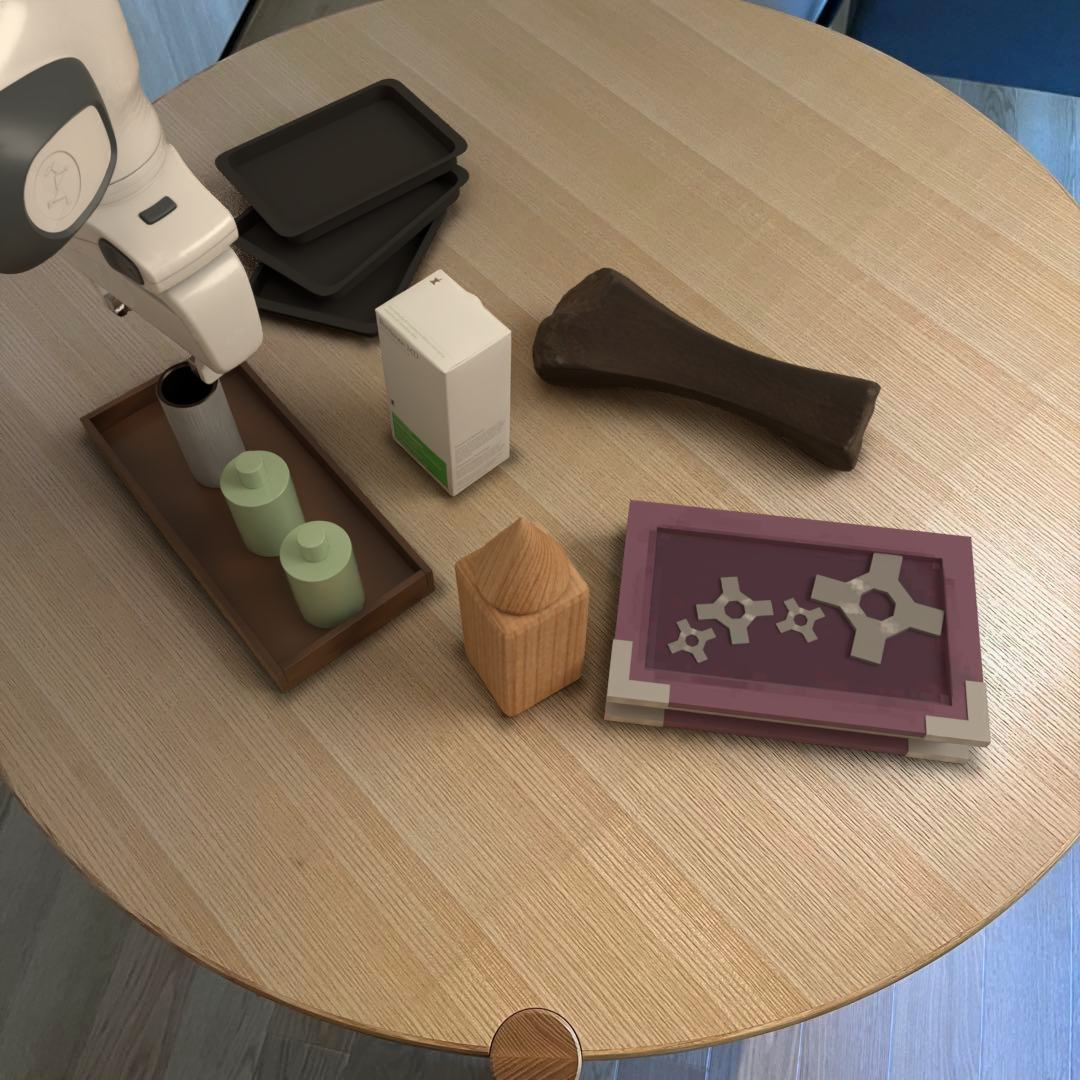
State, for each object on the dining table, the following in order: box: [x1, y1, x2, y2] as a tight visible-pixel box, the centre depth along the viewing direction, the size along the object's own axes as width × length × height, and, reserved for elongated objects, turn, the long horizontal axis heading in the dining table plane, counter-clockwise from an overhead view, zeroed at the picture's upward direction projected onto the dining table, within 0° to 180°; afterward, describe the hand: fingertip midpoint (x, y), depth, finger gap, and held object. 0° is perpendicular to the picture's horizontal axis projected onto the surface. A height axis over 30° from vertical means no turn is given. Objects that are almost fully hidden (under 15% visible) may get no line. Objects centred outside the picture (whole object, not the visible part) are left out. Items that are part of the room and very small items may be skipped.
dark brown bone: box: [531, 267, 882, 473], centre depth 93 cm, size 11×10×28 cm
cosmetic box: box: [375, 268, 512, 497], centre depth 86 cm, size 8×7×16 cm
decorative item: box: [454, 516, 590, 718], centre depth 74 cm, size 7×7×20 cm
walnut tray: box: [79, 358, 436, 694], centre depth 88 cm, size 14×30×3 cm, turn 39°
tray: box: [214, 78, 470, 338], centre depth 105 cm, size 30×23×5 cm
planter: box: [156, 360, 246, 488], centre depth 86 cm, size 4×4×10 cm
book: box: [603, 499, 992, 765], centre depth 81 cm, size 25×16×5 cm, turn 82°
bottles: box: [220, 451, 365, 629], centre depth 82 cm, size 5×13×9 cm, turn 40°
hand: (165, 340), depth 78 cm, fingers open, 8 cm apart
